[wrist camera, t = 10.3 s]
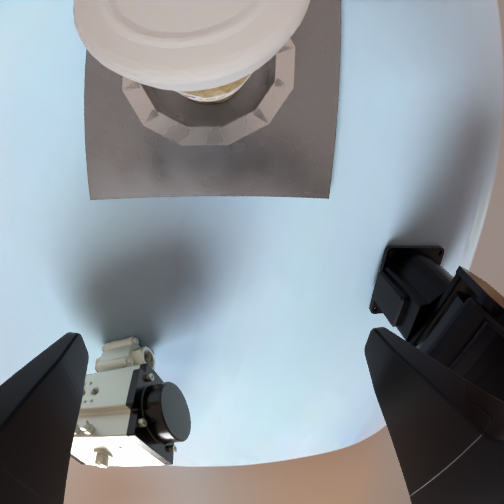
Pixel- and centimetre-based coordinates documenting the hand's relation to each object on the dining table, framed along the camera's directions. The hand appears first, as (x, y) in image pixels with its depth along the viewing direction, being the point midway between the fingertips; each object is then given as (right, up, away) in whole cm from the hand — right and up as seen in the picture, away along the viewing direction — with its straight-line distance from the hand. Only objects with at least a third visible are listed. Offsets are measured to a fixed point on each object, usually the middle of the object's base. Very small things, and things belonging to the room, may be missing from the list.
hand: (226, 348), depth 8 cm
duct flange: (-2, +14, +8) cm, 16 cm away
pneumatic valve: (-11, -6, +17) cm, 21 cm away
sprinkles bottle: (-2, +14, +7) cm, 15 cm away
